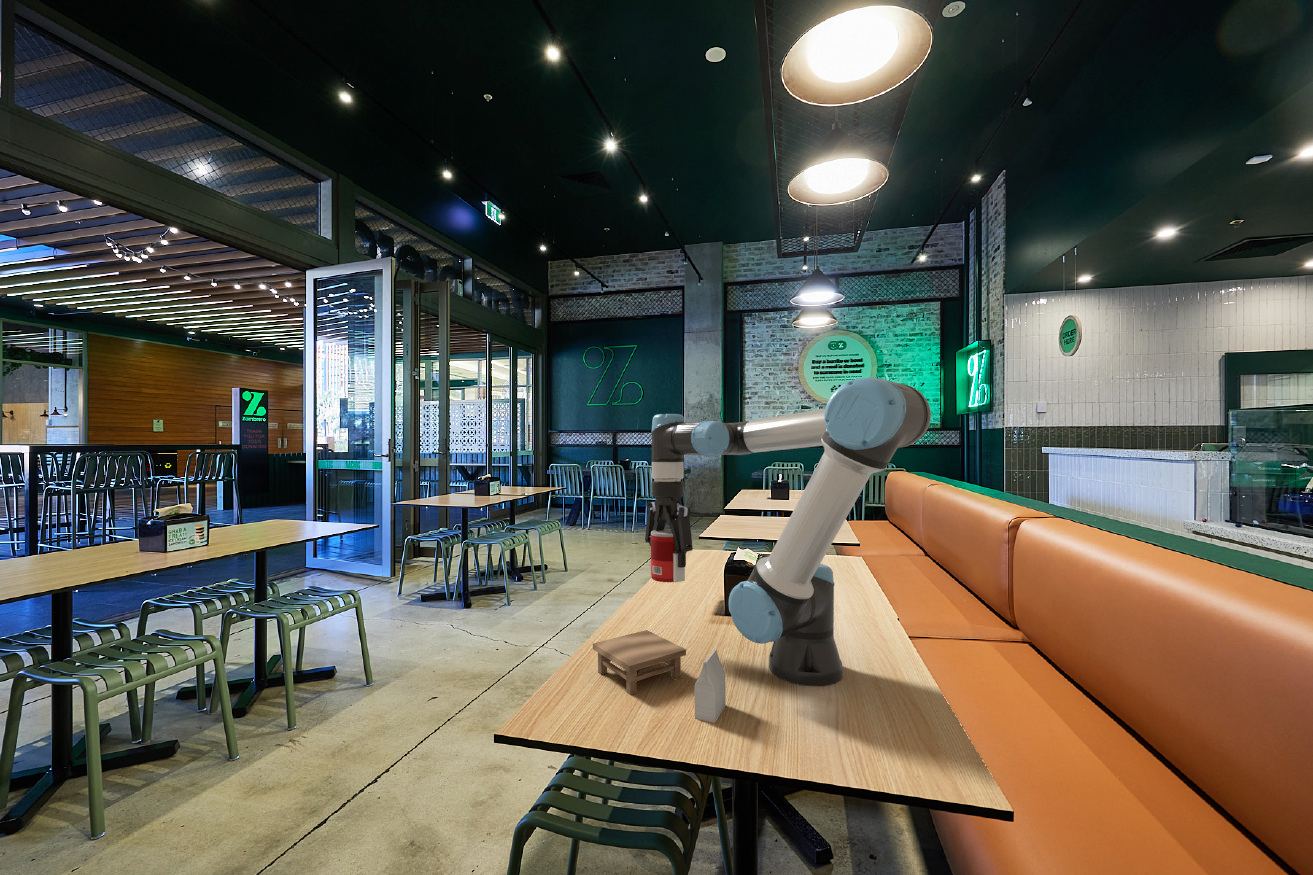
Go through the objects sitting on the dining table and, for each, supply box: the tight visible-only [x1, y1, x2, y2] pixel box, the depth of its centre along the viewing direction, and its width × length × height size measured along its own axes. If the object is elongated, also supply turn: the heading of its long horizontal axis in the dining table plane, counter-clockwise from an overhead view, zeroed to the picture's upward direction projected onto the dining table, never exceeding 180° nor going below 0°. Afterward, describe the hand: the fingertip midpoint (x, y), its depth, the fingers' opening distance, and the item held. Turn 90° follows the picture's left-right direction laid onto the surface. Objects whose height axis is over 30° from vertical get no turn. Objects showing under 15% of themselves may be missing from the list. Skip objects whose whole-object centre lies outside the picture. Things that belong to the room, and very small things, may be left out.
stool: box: [592, 629, 687, 695], centre depth 110 cm, size 14×14×6 cm
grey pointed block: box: [694, 649, 727, 724], centre depth 95 cm, size 4×7×10 cm, turn 157°
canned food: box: [650, 528, 681, 583], centre depth 124 cm, size 8×8×11 cm
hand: (667, 577), depth 124 cm, fingers closed on canned food, 8 cm apart
